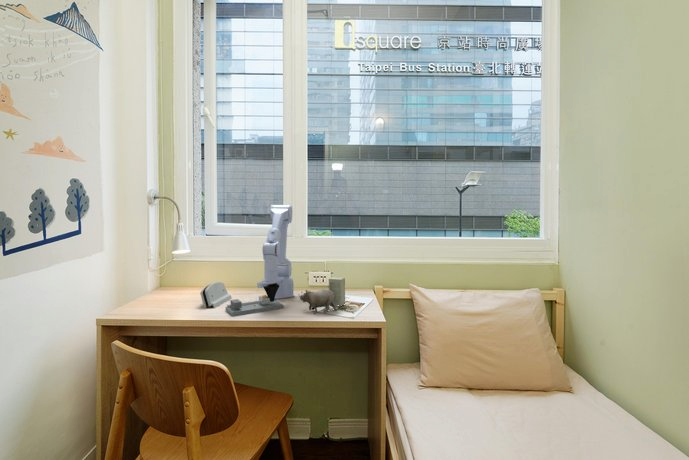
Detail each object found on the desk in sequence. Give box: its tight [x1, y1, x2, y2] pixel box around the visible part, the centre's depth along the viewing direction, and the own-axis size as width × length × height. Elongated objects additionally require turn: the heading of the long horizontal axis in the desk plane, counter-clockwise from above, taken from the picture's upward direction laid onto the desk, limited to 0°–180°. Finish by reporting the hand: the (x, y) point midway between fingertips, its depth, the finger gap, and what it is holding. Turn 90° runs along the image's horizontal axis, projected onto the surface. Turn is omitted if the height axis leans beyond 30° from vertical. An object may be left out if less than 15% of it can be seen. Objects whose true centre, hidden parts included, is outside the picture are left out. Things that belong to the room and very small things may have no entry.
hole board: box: [225, 298, 284, 317], centre depth 157 cm, size 22×9×5 cm, turn 124°
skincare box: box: [328, 276, 346, 307], centre depth 165 cm, size 6×4×12 cm
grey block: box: [258, 294, 270, 305], centre depth 160 cm, size 3×5×3 cm, turn 34°
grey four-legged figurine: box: [298, 288, 338, 315], centre depth 156 cm, size 8×14×15 cm
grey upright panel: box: [199, 281, 233, 309], centre depth 167 cm, size 17×5×10 cm, turn 171°
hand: (271, 301), depth 162 cm, fingers closed
